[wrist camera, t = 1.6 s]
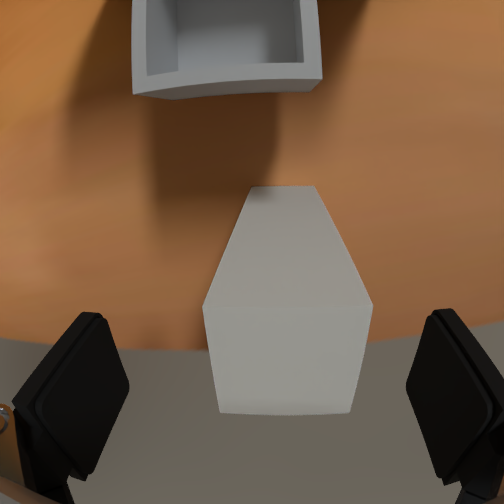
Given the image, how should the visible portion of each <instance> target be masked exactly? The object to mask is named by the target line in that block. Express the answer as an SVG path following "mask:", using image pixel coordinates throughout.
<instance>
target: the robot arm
mask: <svg viewBox="0 0 504 504" xmlns="http://www.w3.org/2000/svg"><path fill="white" fill-rule="evenodd" d="M406 391H407V394H408V397H409V400H410V402H411V405H412V407H413V410H414V413H415V415H416V418H417V420H418V423H419V426H420V429H421V432H422V434H423V437H424V440H425V443H426V446H427V449H428V452H429V455H430V458H431V461H432V464H433V467H434V470H435V473H436V475H437V477H438V478H442V481H443V484H444V486H445V485H448V484H451V483H454V482H457V481H460V483H461V486H462V488H461V491H460V493H459V495H458V498H457V500H456V502H455V504H504V379H503V377H502V375H501V374H500V372H499V371H498V369H497V368H496V366H495V365H494V364H493V362H492V361H491V359H490V358H489V356H488V355H487V354H486V352H485V351H484V349H483V348H482V347H481V345H480V344H479V342H478V341H477V340H476V338H475V337H474V336H473V334H472V333H471V332H470V330H469V329H468V328H467V326H466V325H465V324H464V323H463V321H462V320H461V319H460V317H459V316H458V315H457V314H456V312H455V311H454V310H453V309H451V308H448V309H438V310H434V311H433V312H432V314H431V315H429V316H428V317H427V319H426V322H425V325H424V329H423V332H422V336H421V339H420V343H419V346H418V349H417V352H416V355H415V358H414V362H413V364H412V367H411V370H410V373H409V376H408V379H407V382H406ZM128 392H129V381H128V378H127V376H126V373H125V371H124V368H123V366H122V363H121V360H120V357H119V354H118V351H117V349H116V346H115V343H114V340H113V337H112V334H111V331H110V328H109V324H108V322H107V320H106V319H105V318H103V316H102V315H101V314H100V313H93V312H82V313H81V314H80V315H79V316H78V317H77V318H76V319H75V321H74V322H73V323H72V324H71V325H70V326H69V328H68V329H67V330H66V331H65V332H64V334H63V335H62V336H61V337H60V339H59V340H58V341H57V342H56V343H55V345H54V346H53V347H52V349H51V350H50V351H49V352H48V354H47V355H46V356H45V357H44V359H43V360H42V361H41V362H40V364H39V365H38V366H37V368H36V369H35V370H34V371H33V373H32V374H31V375H30V377H29V378H28V379H27V381H26V382H25V383H24V385H23V386H22V388H21V389H20V390H19V392H18V393H17V395H16V396H15V397H14V398H13V400H12V403H13V405H14V406H15V407H16V408H15V409H14V411H12V410H11V409H10V407H9V406H7V405H5V404H0V504H75V503H74V500H73V497H72V495H71V492H70V489H69V486H68V484H67V478H68V476H69V475H70V476H71V477H73V478H76V479H79V480H82V481H86V479H87V476H88V474H92V473H93V471H94V470H95V467H96V465H97V462H98V460H99V458H100V455H101V453H102V451H103V448H104V446H105V444H106V441H107V439H108V437H109V434H110V432H111V430H112V427H113V425H114V423H115V421H116V419H117V417H118V414H119V412H120V410H121V408H122V405H123V403H124V401H125V399H126V397H127V395H128Z"/></svg>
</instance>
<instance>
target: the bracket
mask: <svg viewBox="0 0 504 504" xmlns="http://www.w3.org/2000/svg"><path fill="white" fill-rule="evenodd" d="M131 49H132V89H133V94H134V95H141V96H148V97H155V98H162V99H168V100H180V99H188V98H197V97H206V96H217V95H230V94H246V93H271V92H310V91H311V90H312V89H313V88H314V87H315V86H316V85H317V84H318V83H319V82H320V81H321V80H322V60H321V45H320V31H319V19H318V8H317V0H132V34H131Z"/></svg>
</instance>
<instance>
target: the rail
mask: <svg viewBox="0 0 504 504" xmlns="http://www.w3.org/2000/svg"><path fill="white" fill-rule="evenodd" d="M202 308H203V315H204V322H205V329H206V335H207V342H208V348H209V354H210V360H211V367H212V372H213V378H214V384H215V390H216V395H217V401H218V406H219V412H220V413H228V414H247V415H319V414H338V413H349V412H350V409H351V405H352V401H353V398H354V393H355V390H356V386H357V382H358V377H359V373H360V369H361V365H362V360H363V356H364V351H365V346H366V341H367V336H368V331H369V326H370V320H371V315H372V309H373V304H372V302H371V300H370V297H369V295H368V293H367V291H366V289H365V286H364V284H363V282H362V280H361V278H360V276H359V274H358V271H357V269H356V267H355V265H354V263H353V261H352V259H351V257H350V255H349V253H348V251H347V249H346V246H345V244H344V242H343V240H342V238H341V236H340V234H339V232H338V230H337V228H336V227H335V225H334V223H333V221H332V219H331V217H330V215H329V213H328V211H327V209H326V207H325V205H324V203H323V202H322V200H321V198H320V196H319V194H318V192H317V190H316V188H315V187H314V186H256V187H251V189H250V191H249V194H248V196H247V198H246V201H245V203H244V206H243V208H242V210H241V213H240V215H239V218H238V220H237V222H236V225H235V227H234V230H233V232H232V234H231V237H230V239H229V242H228V244H227V247H226V249H225V251H224V254H223V256H222V259H221V261H220V264H219V266H218V269H217V271H216V274H215V276H214V279H213V281H212V284H211V286H210V289H209V291H208V294H207V296H206V299H205V301H204V304H203V306H202Z"/></svg>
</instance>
